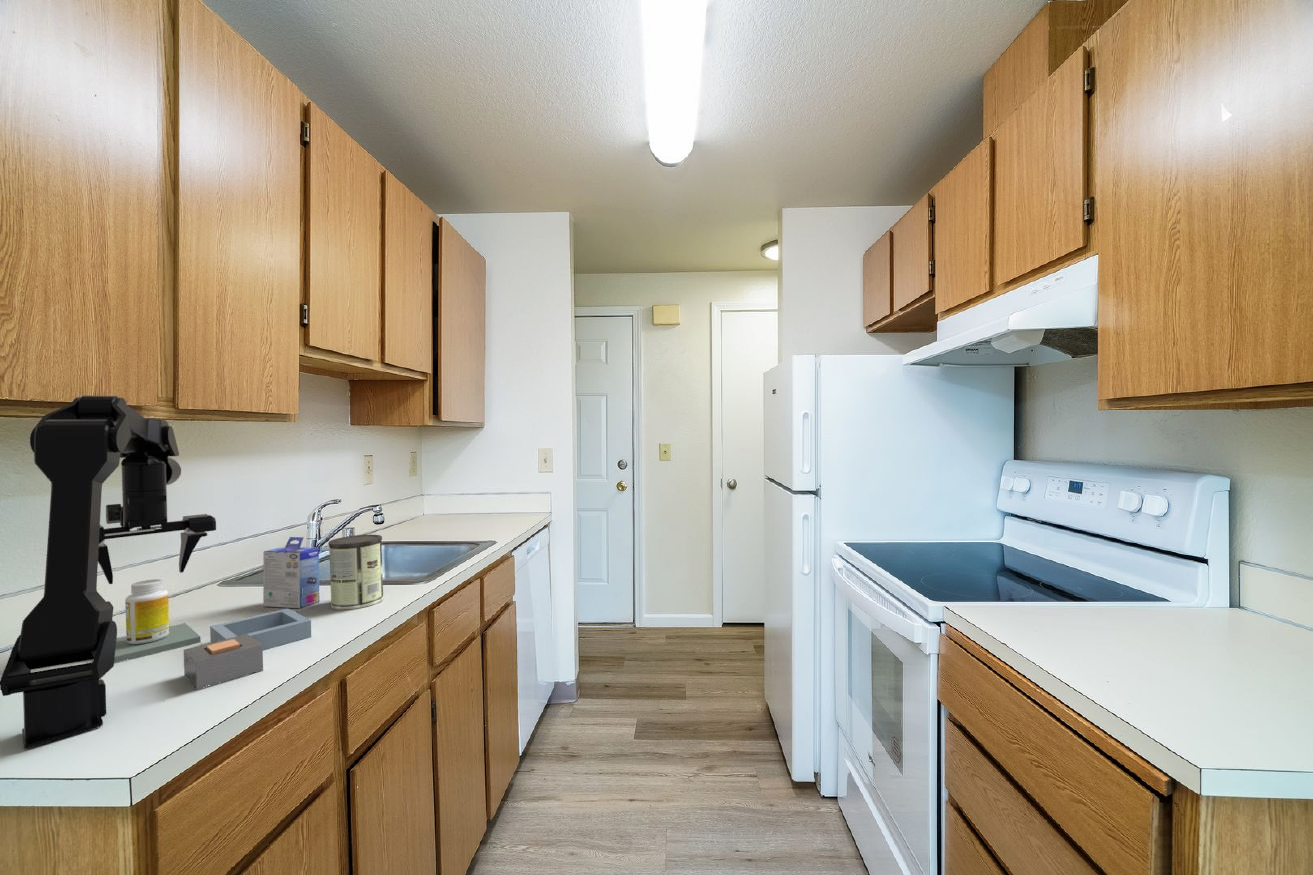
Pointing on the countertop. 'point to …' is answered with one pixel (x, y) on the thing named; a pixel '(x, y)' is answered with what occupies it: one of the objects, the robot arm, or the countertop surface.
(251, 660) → the block
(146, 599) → the supplement bottle
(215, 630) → the tray
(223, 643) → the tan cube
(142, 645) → the mat
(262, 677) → the countertop surface
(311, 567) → the ink cartridge box
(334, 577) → the coffee can
